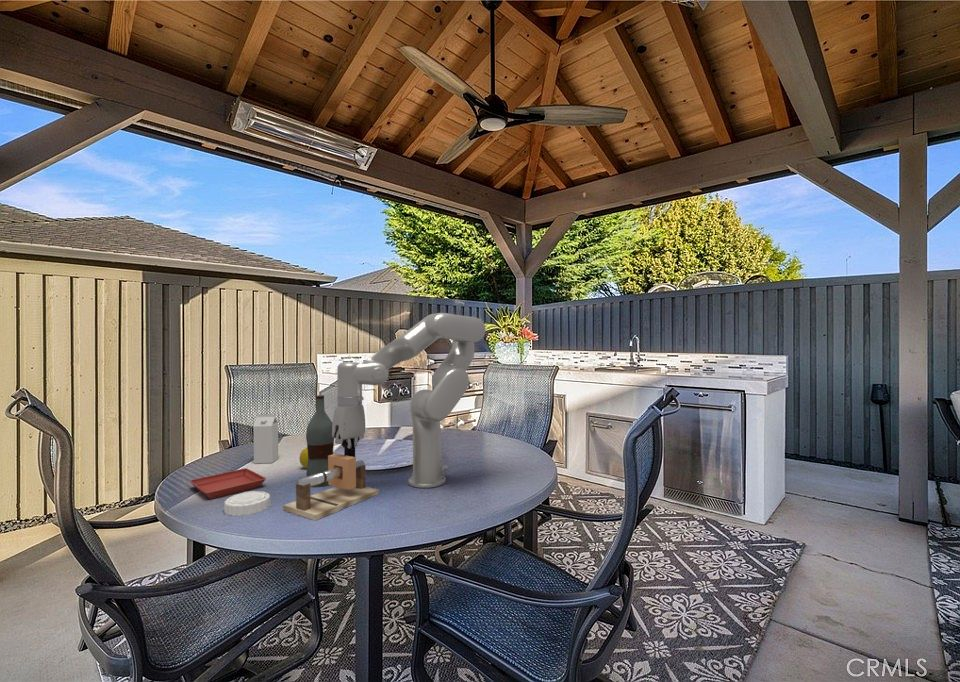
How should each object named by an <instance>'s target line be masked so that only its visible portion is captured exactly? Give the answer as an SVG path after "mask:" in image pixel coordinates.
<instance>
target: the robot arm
mask: <svg viewBox="0 0 960 682" xmlns="http://www.w3.org/2000/svg"><path fill="white" fill-rule="evenodd" d="M485 335H486V326H485V323H484V322H483V320H482V319H480V318H479V317H478V318H477V317H475V316H468V315H460V314H455V313H448V312H437V313H431V314H428V315H427V316H425V317H423V319H421V320H420V321H419V322H417V323H416V324H414V325H413V326H412V327H411V328H410V329H408V330H407V331H405V332H404V333H402V334H401V335H400V336H398V337H397V338H395V339H394V340H392V341H390V342H389V343H387V344H386V345H385V346H383V347H382V348H380V349H379V350H377V351H375V352H374V353H373V354H372V355H370V356H369V357H367V358H366V359H365V360H364V361H363V362H362V363H360V362H355V361H354V362H346V361H345V362H340V363H339V364H338V365H337V368H336V369H337V374H336V375H337V378H336V379H337V381H336V383H337V388H336V389H337V395H336V397H337V400H336V401H337V402H336V403H337V405H336V406H335V407H334V409H333V416H332V422H333V424H332V437H333V438H334V444H337V445H341V446H342V448H344V449H343V452H344V453H343V455H346V456H351V457H356V447H357V446H358V444H359V441H361V440H362V439H364V437H365V436H364V434H365V433H366V414H365V413H366V412H365V409H364V405H363V401H364V396H363V385H367V386H368V385H369V386H379V385H382V384H384V383H386V381H387V380H388V377H389V376H390V375H389V370H390V369H392V368H393V367H395V366H396V365H398V364H400V363H403V362H405V361H406V362H407V361H409V360H411V359H413V358H415V357H416V356H419V354H421V353H422V352H423V351H425V350H426V349H427V348H428V347H429V346H431V345H432V344H433V343H434V342H435V341H437V340H439V339H447V340H452V346H451V348H450V350H449V352H448V354H447V356H445V358H444V359H443V361H442V362H441V363H440V365H439V366H438V367H437V368H436V370H435V371H434V372H433V375H432V377H431V383H432V386H433V387H434V388H433V389H432V390H431V389H420V390H418V391H417V392H415V393H414V394H413V395H412V398H411V400H410V414H411V421H412V476H410V477H409V478H408V484H409V485H410V486H411V487H413V488H419V489H423V488H424V489H425V488H427V489H428V488H429V489H431V488H436V487H439V486H443V485H444V484H445V483H446V482H447V481H446V480H447V479H446V477H445V475H443V473H444V472H446V471H448V469H449V466H448V465H447V464H445V465H442V454H441V453H442V441H441V439H442V433H441V432H442V429H441V422H442V421H443V420H445V419H446V418H447V417H448V416H449V415H450V413H451V412H452V411H453V410H454V409H455V408H456V406H457V404H458V403H459V402H460V400H461V399H462V398H463V396H464V395H465V393H466V391H467V389H468V387H469V384H470V378H469V374H468V372H467V370H468V369H469V367H470V365H471V364H472V361H473V360H474V357H475V343H477V342H480V341H481V340H482V339H483V338H484V336H485Z"/></svg>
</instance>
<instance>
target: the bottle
mask: <svg viewBox="0 0 960 682" xmlns="http://www.w3.org/2000/svg"><path fill="white" fill-rule="evenodd" d="M315 399H316V400H315V402H316V403H315V405H316V406H315V412H314V414H313V416H312V417H311V419H310V420H309V422H308V424H307V426H306V433H305V438H306V439H305V440H306V448H307V450H308V464H307V468H306V477H308V476H311V475H315V474H318V473H320V472H324V471H327V470H328V456H329V455H332V454H334V448H335V447H334V446H335V445H334V444H335V438H333V437H332V424H333V420H332V419H331V418H330V417H329V415H328V414H327V412H326V411H325V395H324V394H318V395H317V394H316V396H315ZM326 486H329V485H328V481H326V482H325V483H321V484H318V485H315V486H312V487H313V488H321V487H326ZM312 487H311V488H312Z"/></svg>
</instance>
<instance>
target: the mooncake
mask: <svg viewBox="0 0 960 682" xmlns="http://www.w3.org/2000/svg"><path fill="white" fill-rule="evenodd" d="M223 503H224V505H223V507H224V508H223V509H224V510H223V511H224V514H226V515H227V516H233V517H236V516H238V517H241V516H249V515H254V514H257V513H261V512H263V511H264V510H267V509H268V508H270V506H271V495H270V493H268V492H266V491H257V490H256V491H255V490H251V491H243V492H240V493H236V494H232V496H230V497H228V498H226V499H225V500H224V502H223Z"/></svg>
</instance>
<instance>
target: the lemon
mask: <svg viewBox="0 0 960 682" xmlns="http://www.w3.org/2000/svg"><path fill="white" fill-rule="evenodd" d="M299 463H300V465H301V466H302V467H304V468H306V469H307V464H308V450H307V447H305V448H303V449H302V450H301V452H300V455H299Z"/></svg>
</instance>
